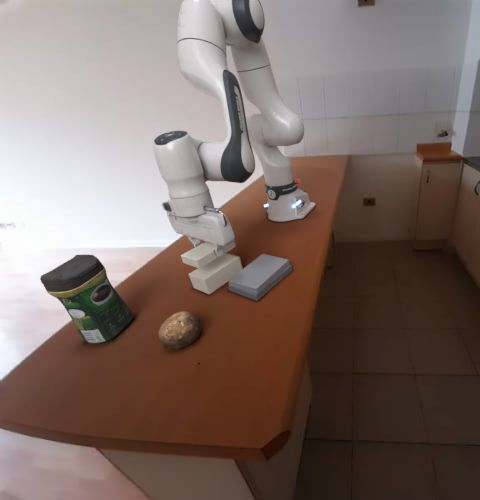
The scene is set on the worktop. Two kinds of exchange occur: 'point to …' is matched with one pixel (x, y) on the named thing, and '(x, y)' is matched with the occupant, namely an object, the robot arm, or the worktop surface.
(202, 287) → the white book
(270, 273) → the grey book
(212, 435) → the worktop surface
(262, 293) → the grey book
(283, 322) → the worktop surface
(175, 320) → the brown oval lump
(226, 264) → the white book
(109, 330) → the coffee jar
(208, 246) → the cream flat block
